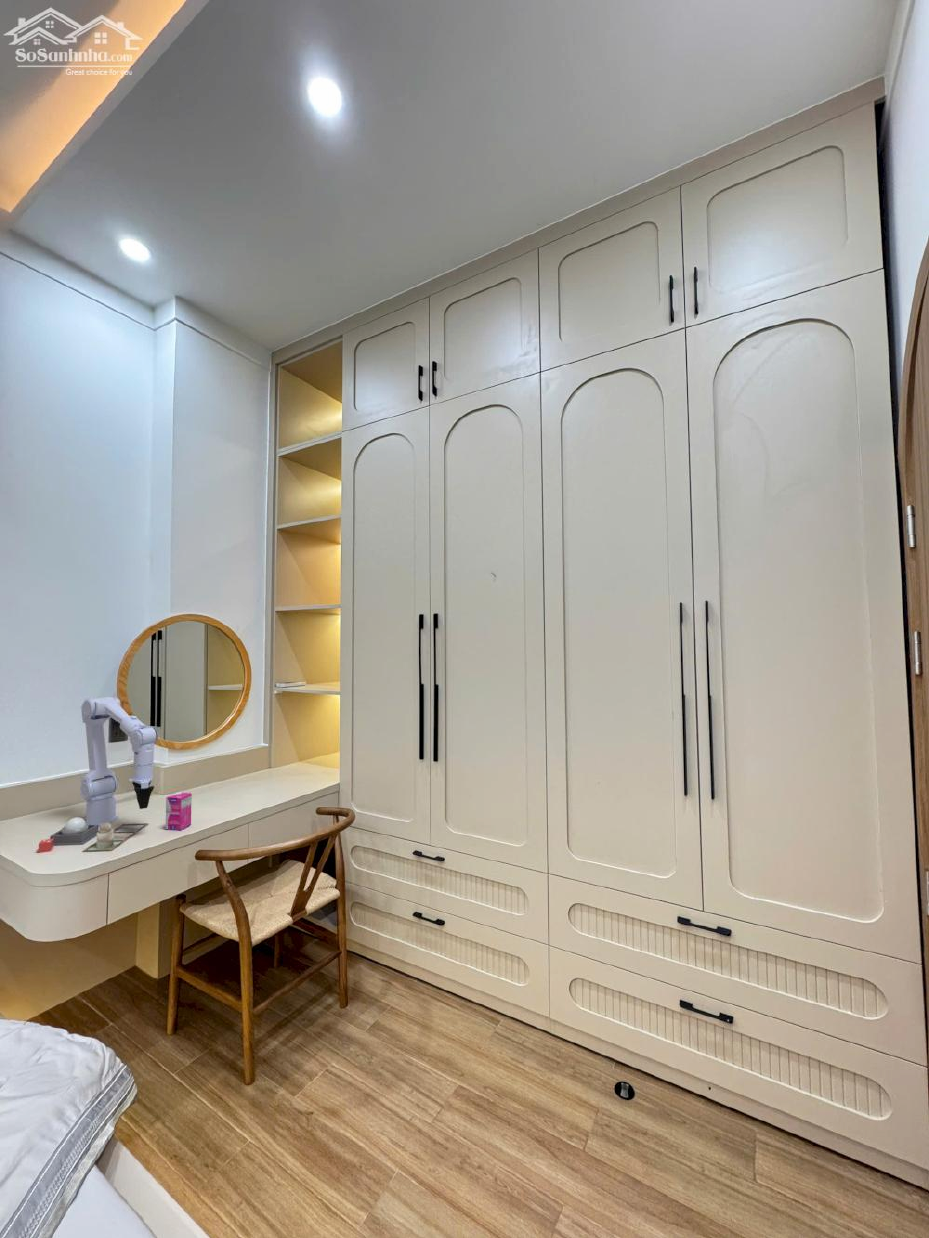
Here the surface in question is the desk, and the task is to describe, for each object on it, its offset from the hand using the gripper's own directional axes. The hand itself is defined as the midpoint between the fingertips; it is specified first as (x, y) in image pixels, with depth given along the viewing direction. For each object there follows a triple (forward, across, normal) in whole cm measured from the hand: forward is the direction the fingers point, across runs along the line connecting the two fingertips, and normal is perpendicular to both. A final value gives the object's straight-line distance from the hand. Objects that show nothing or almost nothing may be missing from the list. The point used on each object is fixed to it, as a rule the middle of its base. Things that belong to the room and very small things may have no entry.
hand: (142, 805), depth 176 cm
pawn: (+9, +6, -10) cm, 15 cm away
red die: (+9, 0, -25) cm, 27 cm away
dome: (+8, -7, -18) cm, 21 cm away
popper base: (+9, -7, -18) cm, 21 cm away
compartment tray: (+9, 0, -7) cm, 12 cm away
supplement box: (+10, +1, +11) cm, 14 cm away
